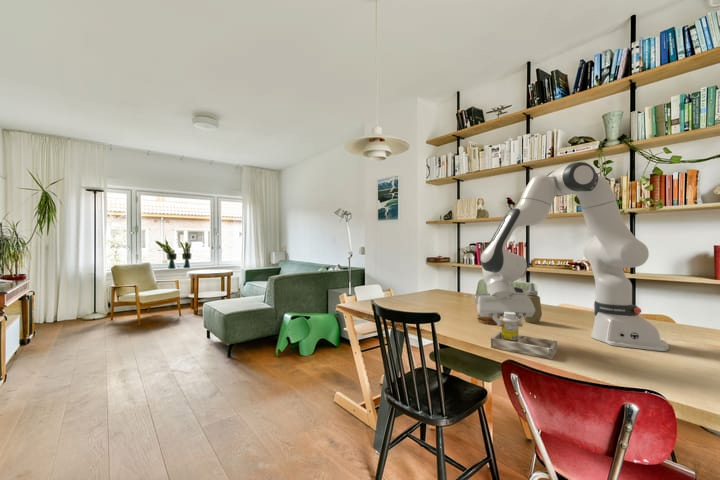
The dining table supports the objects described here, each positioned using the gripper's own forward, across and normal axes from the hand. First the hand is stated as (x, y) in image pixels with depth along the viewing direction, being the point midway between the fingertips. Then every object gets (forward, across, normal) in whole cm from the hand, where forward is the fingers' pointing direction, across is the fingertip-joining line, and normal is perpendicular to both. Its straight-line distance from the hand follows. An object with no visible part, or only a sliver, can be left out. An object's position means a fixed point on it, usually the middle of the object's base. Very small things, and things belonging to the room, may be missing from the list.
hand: (510, 325), depth 117 cm
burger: (-19, +3, +30) cm, 36 cm away
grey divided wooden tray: (+7, +4, +4) cm, 9 cm away
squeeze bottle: (-19, +24, +31) cm, 43 cm away
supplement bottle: (+4, 0, +5) cm, 6 cm away
